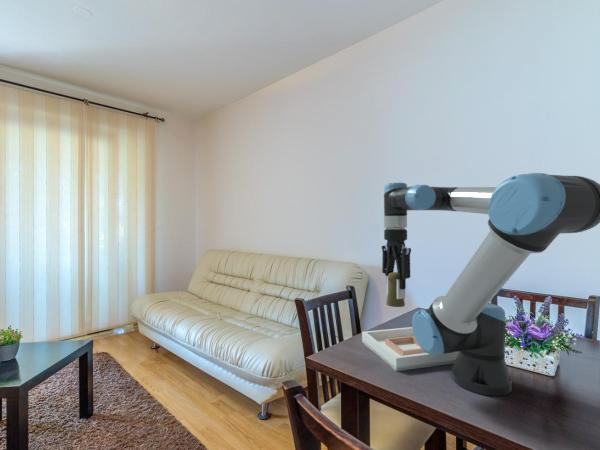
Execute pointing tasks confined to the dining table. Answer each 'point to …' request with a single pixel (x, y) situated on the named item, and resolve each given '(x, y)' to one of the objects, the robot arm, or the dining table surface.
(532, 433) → the dining table surface
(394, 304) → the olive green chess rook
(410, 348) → the walled box
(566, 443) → the dining table surface
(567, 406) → the dining table surface
